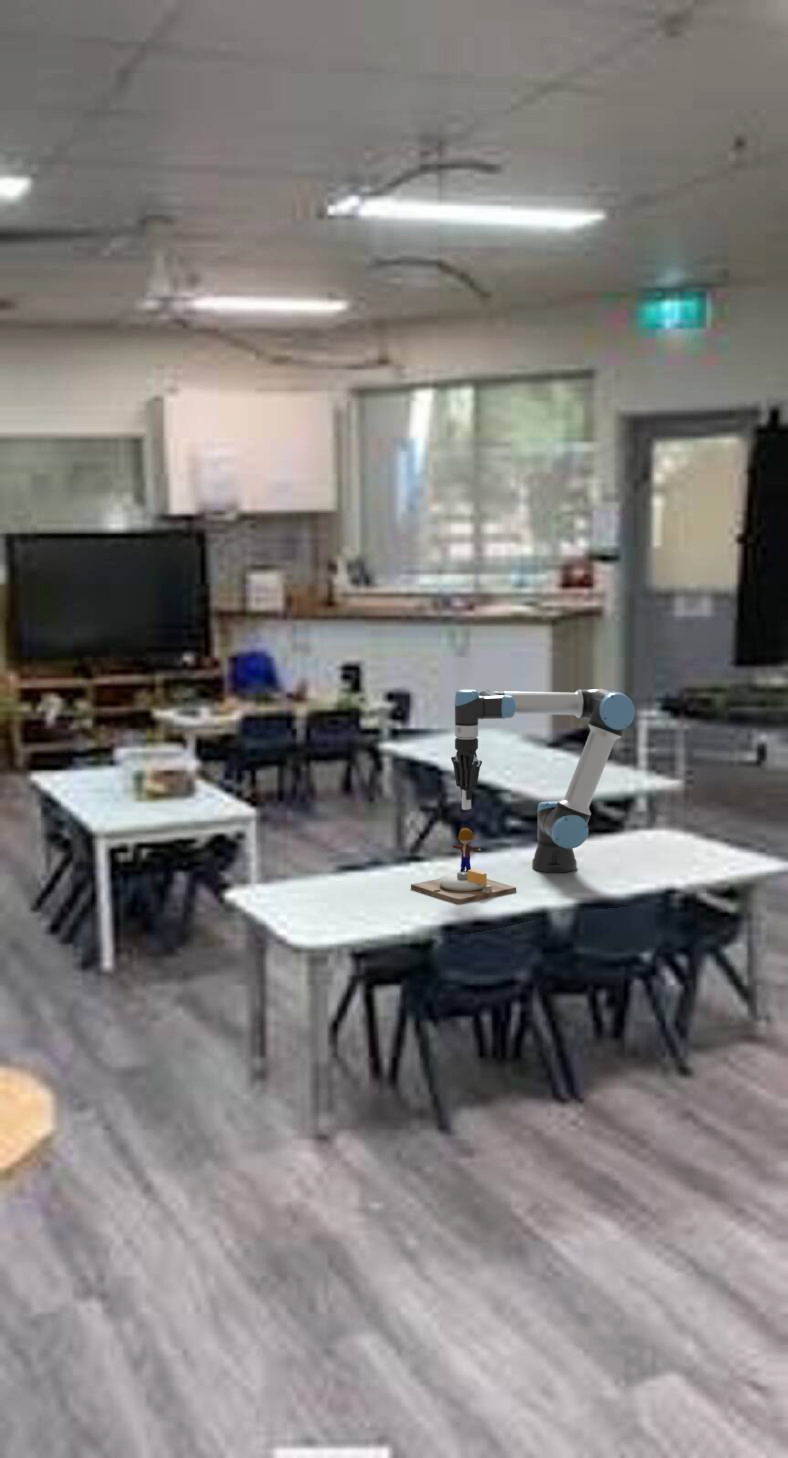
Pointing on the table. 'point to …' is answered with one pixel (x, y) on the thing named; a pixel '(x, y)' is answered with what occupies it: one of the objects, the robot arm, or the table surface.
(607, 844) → the table surface
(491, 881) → the board
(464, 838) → the toy
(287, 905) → the table surface
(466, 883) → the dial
